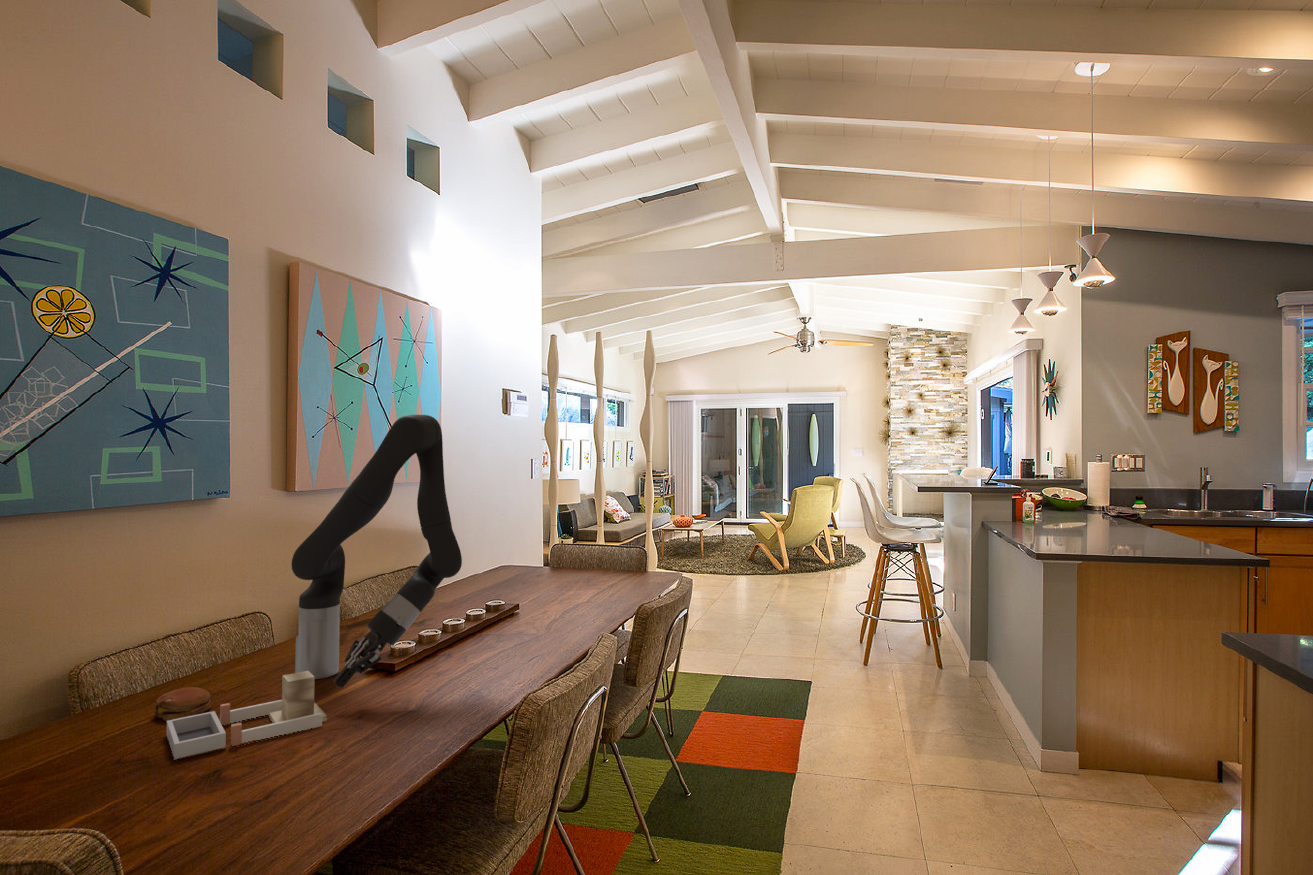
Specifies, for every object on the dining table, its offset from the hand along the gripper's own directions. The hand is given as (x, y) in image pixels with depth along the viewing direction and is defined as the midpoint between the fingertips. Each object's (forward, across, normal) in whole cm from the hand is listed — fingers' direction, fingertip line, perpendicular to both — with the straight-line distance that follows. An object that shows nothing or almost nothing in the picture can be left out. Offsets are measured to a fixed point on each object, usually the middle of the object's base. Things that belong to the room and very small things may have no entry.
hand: (337, 684), depth 150 cm
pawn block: (+10, 0, -1) cm, 10 cm away
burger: (+22, -19, -14) cm, 33 cm away
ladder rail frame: (+13, 0, -5) cm, 14 cm away
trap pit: (+22, 0, -14) cm, 26 cm away
